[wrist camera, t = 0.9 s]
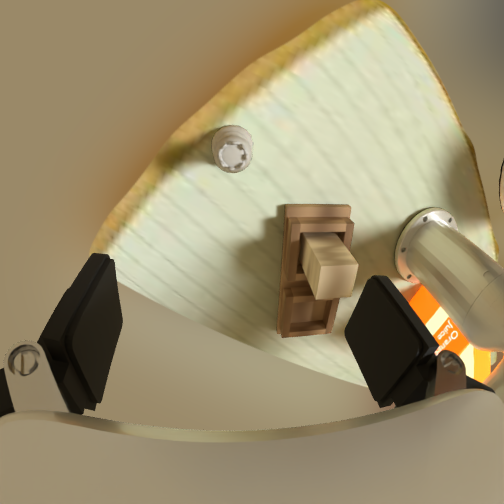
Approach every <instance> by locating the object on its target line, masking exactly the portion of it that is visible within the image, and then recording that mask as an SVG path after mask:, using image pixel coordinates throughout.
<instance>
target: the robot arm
mask: <svg viewBox="0 0 504 504" xmlns="http://www.w3.org/2000/svg"><path fill="white" fill-rule="evenodd" d="M395 265H396V268H397V270H398V272H399V274H400V275H401V276H402V277H403V278H404V279H405V280H406V281H409V282H411V283H421V284H422V285H423V286H424V287H425V288H426V290H427V291H428V292H429V293H430V294H431V296H432V297H433V298H434V299H435V300H436V302H437V303H438V304H439V305H440V306H441V308H442V309H443V310H444V311H445V313H446V314H447V315H448V316H449V318H450V319H451V320H452V321H453V323H454V324H455V325H456V327H457V328H458V329H459V331H460V332H461V333H462V335H463V336H464V337H465V339H466V340H467V341H468V342H469V343H470V345H472V346H473V347H474V348H476V349H478V350H481V351H488V352H495V351H499V352H503V353H504V268H502V267H501V266H500V265H499V264H498V263H497V262H496V261H494V260H493V259H492V258H491V257H490V256H489V255H487V254H486V253H485V252H484V251H482V250H481V249H480V248H479V247H478V246H476V245H475V244H474V243H473V242H471V241H470V240H469V239H467V238H466V237H465V236H463V235H462V234H461V233H460V232H458V227H457V224H456V221H455V219H454V217H453V216H452V215H451V214H450V213H449V212H447V211H446V210H444V209H441V208H429V209H426V210H424V211H422V212H420V213H419V214H417V215H416V216H415V217H414V218H413V219H412V220H411V221H410V222H409V223H408V224H407V226H406V227H405V228H404V230H403V232H402V233H401V235H400V238H399V240H398V242H397V246H396V250H395ZM122 323H123V318H122V313H121V306H120V300H119V293H118V286H117V279H116V271H115V262H114V260H113V259H110V257H109V255H108V254H99V253H93V254H92V255H91V256H90V257H89V259H88V260H87V262H86V263H85V265H84V266H83V268H82V270H81V271H80V272H79V274H78V276H77V277H76V279H75V280H74V282H73V284H72V285H71V287H70V288H69V289H67V290H66V292H65V293H64V295H63V297H62V298H61V300H60V302H59V303H58V305H57V307H56V308H55V310H54V312H53V314H52V315H51V317H50V319H49V321H48V323H47V324H46V326H45V328H44V330H43V332H42V334H41V336H40V338H39V340H38V342H37V343H36V342H34V341H27V340H25V341H20V342H18V343H16V344H14V345H13V346H12V347H11V348H10V349H9V350H8V351H7V353H6V354H5V358H4V368H2V369H0V504H504V357H503V359H502V360H501V362H500V363H499V364H498V365H497V367H496V368H495V370H494V371H493V372H492V373H491V374H490V375H489V376H488V377H487V378H486V379H485V380H484V381H483V382H482V383H481V382H479V381H477V380H475V379H473V378H471V377H469V376H467V375H466V367H465V364H464V362H463V360H462V359H461V358H460V357H459V356H458V355H457V354H456V353H454V352H453V351H450V350H442V351H440V352H439V353H438V355H437V356H436V354H435V352H436V350H437V349H438V347H439V346H440V345H439V344H438V342H437V341H436V340H435V338H434V337H433V335H432V334H431V333H430V331H429V330H428V328H427V327H426V326H425V324H424V323H423V322H422V320H421V319H420V318H419V316H418V315H417V314H416V312H415V311H414V310H413V308H412V307H411V306H410V304H409V303H408V302H407V301H406V299H405V298H404V297H403V295H402V294H401V293H400V292H399V290H398V289H397V288H396V287H395V285H394V284H393V283H392V282H391V281H390V279H389V278H388V277H387V276H377V275H374V276H372V277H371V278H370V279H369V280H368V281H367V283H366V285H365V287H364V289H363V292H362V294H361V296H360V298H359V301H358V303H357V305H356V307H355V309H354V311H353V313H352V315H351V318H350V320H349V322H348V324H347V326H346V328H345V338H346V340H347V342H348V344H349V346H350V348H351V350H352V352H353V355H354V357H355V359H356V361H357V363H358V365H359V368H360V370H361V372H362V374H363V376H364V378H365V381H366V383H367V385H368V387H369V390H370V392H371V394H372V396H373V398H374V400H375V401H377V402H378V405H379V407H380V408H382V407H386V406H390V405H391V404H392V403H393V402H394V403H395V408H394V409H391V410H387V411H383V412H379V413H375V414H370V415H366V416H362V417H357V418H352V419H347V420H341V421H336V422H330V423H323V424H317V425H310V426H301V427H291V428H281V429H267V430H246V431H245V430H244V431H209V430H187V429H174V428H164V427H154V426H145V425H137V424H130V423H124V422H117V421H112V420H106V419H101V418H95V417H90V416H83V415H82V414H83V413H84V408H85V409H89V410H93V411H95V408H96V403H101V401H102V397H103V393H104V389H105V385H106V381H107V377H108V374H109V369H110V366H111V362H112V359H113V355H114V352H115V348H116V345H117V342H118V338H119V335H120V332H121V329H122Z"/></svg>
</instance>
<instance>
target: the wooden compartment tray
mask: <svg viewBox="0 0 504 504" xmlns="http://www.w3.org/2000/svg"><path fill="white" fill-rule="evenodd" d="M350 213H351V207H350V206H349V205H338V204H285V217H284V235H283V251H282V267H281V281H280V294H279V307H278V319H277V334H281V336H282V338H286V337H298V336H309V335H318V334H327V333H331V331H332V328H333V324H334V320H335V316H336V312H337V308H338V304H339V299H340V298H341V297H351V295H352V291H353V287H354V283H355V279H356V275H357V270H358V266H359V264H358V263H357V261H356V260H355V259H354V257H353V256H352V254H351V253H350V246H351V241H352V235H353V229H354V223H353V222H352V221H351V220H350Z"/></svg>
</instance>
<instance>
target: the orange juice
mask: <svg viewBox="0 0 504 504" xmlns="http://www.w3.org/2000/svg"><path fill="white" fill-rule="evenodd" d="M409 304H410V306H411V307H412V308H413V310H414V311H415V312H416V314H417V315H418V316H419V318H420V319H421V320H422V322H423V323H424V324H425V326H426V327H427V328H428V330H429V331H430V333H431V334H432V335H433V337H434V338H435V340H436V341H437V342H438V344H439V345H440V346H439V347H438V349H437V350H436V352H435V354H436V356H437V355H438V353H439V352H440V351H442V350H450V351H453V352H454V353H456V354H457V355H458V356H459V357H460V358H461V359H462V360H463V362H464V364H465V367H466V375H467V376H469V377H471V378H473V379H475V380H477V381H479V382H481V383H482V382H483V381H484V380H485V379H486V378H487V377H488V376H489V375H490V352H488V351H481V350H478V349H476V348H474V347H473V346H472V345H470V343H469V342H468V341H467V340H466V339H465V337H464V336H463V335H462V333H461V332H460V331H459V329H458V328H457V327H456V325H455V324H454V323H453V321H452V320H451V319H450V318H449V316H448V315H447V314H446V313H445V311H444V310H443V309H442V308H441V306H440V305H439V304H438V303H437V302H436V300H435V299H434V298H433V297H432V296H431V294H430V293H429V292H428V291H427V290H426V288H425V287H424V286H423V285H422V286H421V288H420V289H419V290H418V292H417V293H416V294H415V296H414V297H413V298H412V299H411V301H410V302H409Z"/></svg>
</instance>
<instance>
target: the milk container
mask: <svg viewBox="0 0 504 504" xmlns="http://www.w3.org/2000/svg"><path fill="white" fill-rule="evenodd" d="M499 197H500V203H501V208H502V210H503V212H504V161H503V163H502V166H501V174H500V179H499Z"/></svg>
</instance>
